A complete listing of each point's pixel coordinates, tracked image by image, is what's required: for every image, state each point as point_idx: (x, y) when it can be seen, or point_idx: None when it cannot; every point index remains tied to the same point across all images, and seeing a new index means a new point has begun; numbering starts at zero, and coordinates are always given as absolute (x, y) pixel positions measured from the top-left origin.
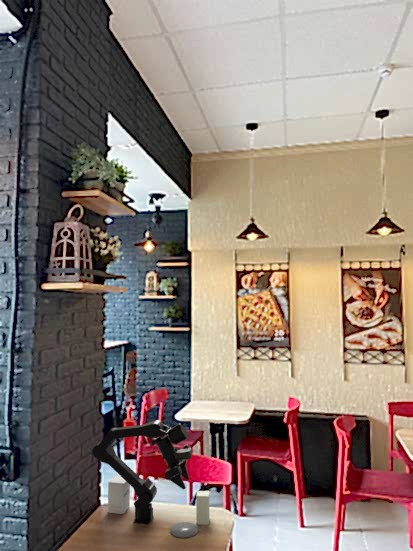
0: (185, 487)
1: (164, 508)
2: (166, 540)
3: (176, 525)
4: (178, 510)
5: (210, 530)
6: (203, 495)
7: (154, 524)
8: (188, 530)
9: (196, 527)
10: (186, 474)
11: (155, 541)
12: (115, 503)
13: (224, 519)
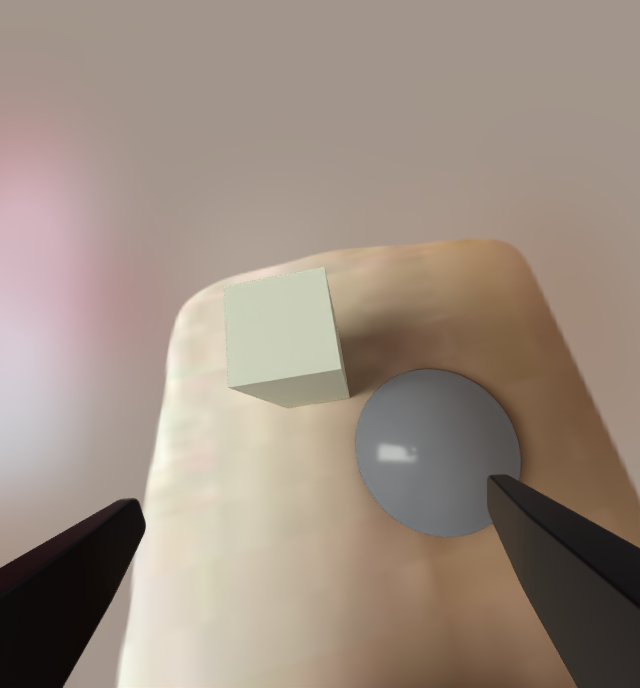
0: (499, 477)
1: (185, 656)
2: None
3: (409, 506)
4: (207, 544)
5: (394, 318)
6: (316, 310)
7: (412, 676)
8: (445, 419)
9: (401, 384)
10: (56, 583)
11: None
12: None
13: None
